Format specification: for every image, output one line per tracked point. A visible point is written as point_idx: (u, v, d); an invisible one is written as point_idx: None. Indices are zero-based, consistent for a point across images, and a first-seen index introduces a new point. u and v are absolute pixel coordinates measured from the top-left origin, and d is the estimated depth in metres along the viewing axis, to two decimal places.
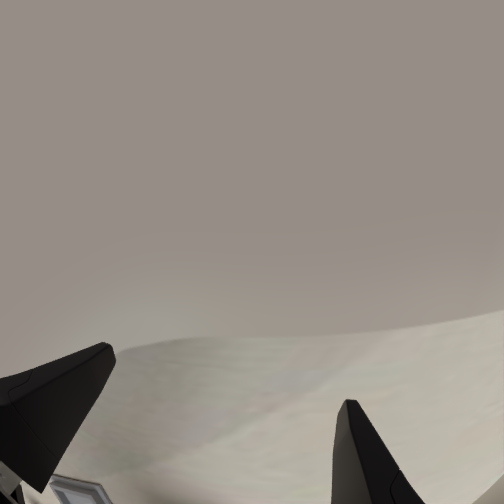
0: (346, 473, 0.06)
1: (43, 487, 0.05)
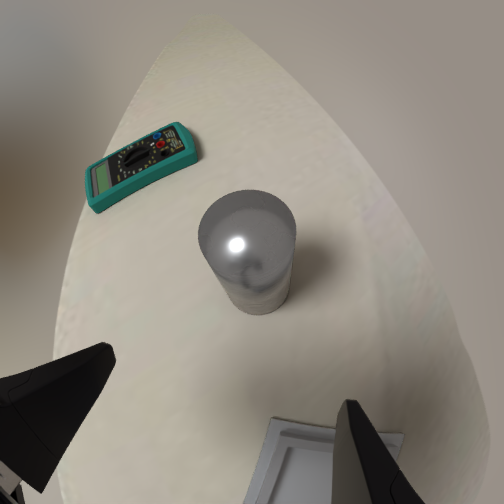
0: (346, 473, 0.06)
1: (43, 487, 0.05)
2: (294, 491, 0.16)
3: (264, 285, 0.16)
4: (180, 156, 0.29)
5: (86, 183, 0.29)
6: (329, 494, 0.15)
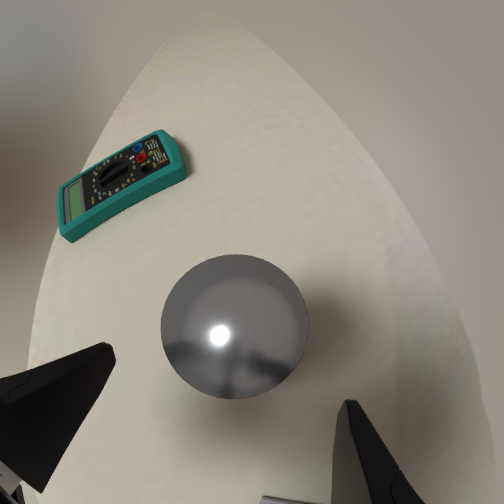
0: (346, 473, 0.06)
1: (43, 487, 0.05)
2: None
3: None
4: (164, 173, 0.24)
5: (58, 206, 0.24)
6: None
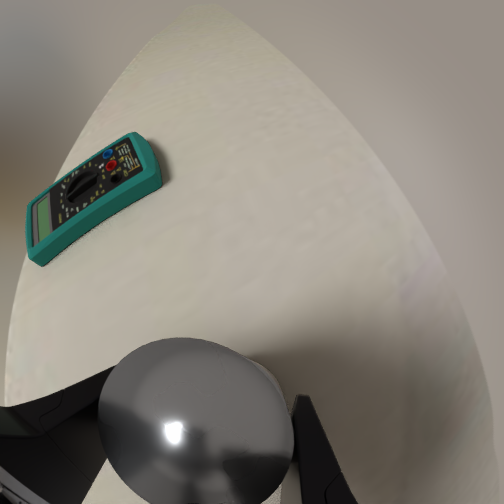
0: (290, 469, 0.06)
1: None
2: None
3: None
4: (136, 182, 0.20)
5: (26, 226, 0.19)
6: None
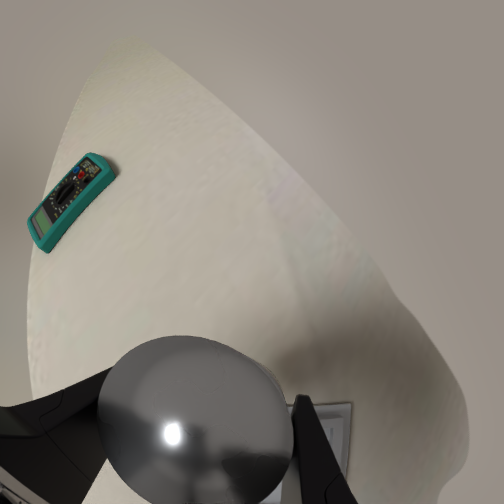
0: (290, 469, 0.06)
1: None
2: None
3: None
4: (100, 178, 0.31)
5: (31, 231, 0.28)
6: None
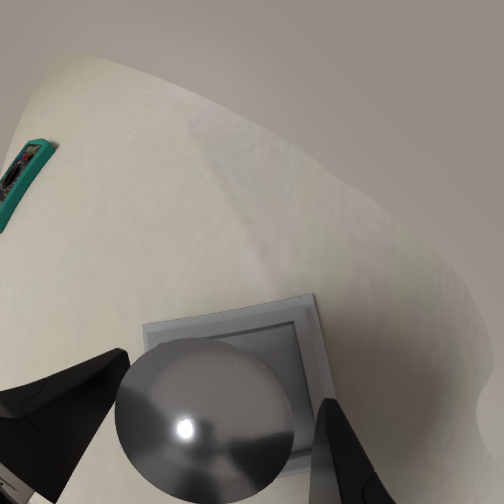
0: (322, 472, 0.06)
1: (57, 498, 0.05)
2: None
3: None
4: (41, 151, 0.27)
5: None
6: None
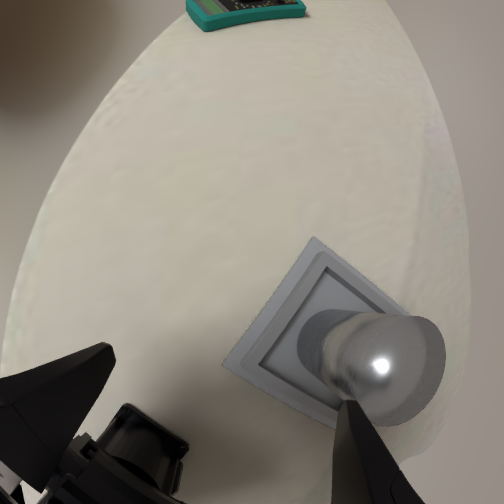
0: (346, 473, 0.06)
1: (43, 487, 0.05)
2: None
3: None
4: (295, 7, 0.24)
5: (194, 6, 0.22)
6: None
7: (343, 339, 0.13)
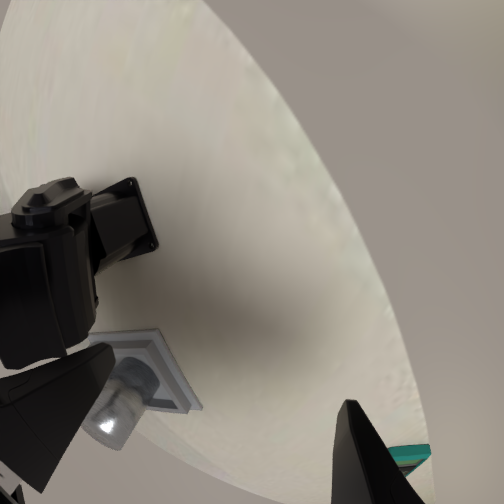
0: (346, 473, 0.06)
1: (43, 487, 0.05)
2: None
3: None
4: None
5: (413, 458, 0.24)
6: None
7: (127, 419, 0.21)
